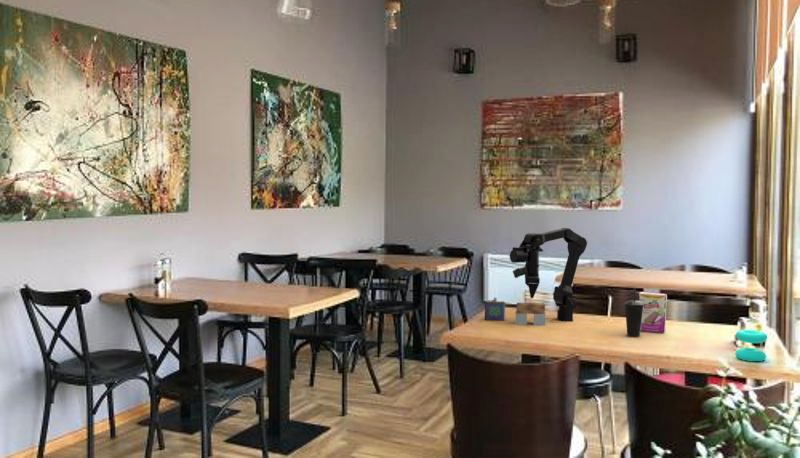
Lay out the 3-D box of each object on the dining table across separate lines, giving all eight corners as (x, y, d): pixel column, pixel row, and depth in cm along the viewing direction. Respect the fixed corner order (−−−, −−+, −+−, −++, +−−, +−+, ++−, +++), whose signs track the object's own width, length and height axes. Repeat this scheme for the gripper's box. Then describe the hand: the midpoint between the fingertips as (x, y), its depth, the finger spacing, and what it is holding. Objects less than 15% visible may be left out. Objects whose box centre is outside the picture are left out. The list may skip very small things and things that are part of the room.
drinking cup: (642, 334, 287) (644, 287, 285) (643, 338, 279) (644, 289, 278) (623, 333, 289) (625, 286, 288) (623, 336, 282) (624, 288, 281)
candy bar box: (637, 331, 294) (638, 293, 293) (638, 329, 298) (639, 291, 297) (664, 333, 289) (666, 295, 288) (665, 331, 293) (667, 293, 292)
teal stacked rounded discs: (766, 330, 249) (768, 335, 240) (764, 357, 250) (767, 363, 241) (735, 327, 253) (736, 333, 244) (734, 354, 254) (735, 360, 245)
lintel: (543, 312, 307) (543, 303, 307) (544, 314, 302) (544, 305, 302) (516, 311, 309) (516, 302, 308) (517, 313, 304) (517, 304, 303)
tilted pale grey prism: (526, 322, 308) (527, 311, 308) (526, 324, 304) (527, 313, 303) (515, 322, 309) (515, 311, 309) (515, 324, 304) (515, 313, 304)
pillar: (544, 323, 307) (545, 312, 307) (545, 325, 302) (545, 314, 302) (533, 322, 308) (533, 311, 308) (533, 325, 303) (533, 313, 303)
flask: (504, 320, 315) (504, 297, 314) (505, 321, 312) (505, 298, 311) (484, 320, 315) (484, 296, 315) (484, 321, 312) (485, 298, 312)
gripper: (514, 259, 316) (513, 292, 317) (513, 263, 298) (513, 299, 299) (538, 259, 314) (538, 293, 315) (539, 264, 296) (539, 300, 297)
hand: (531, 296), depth 307 cm, fingers open, 9 cm apart
